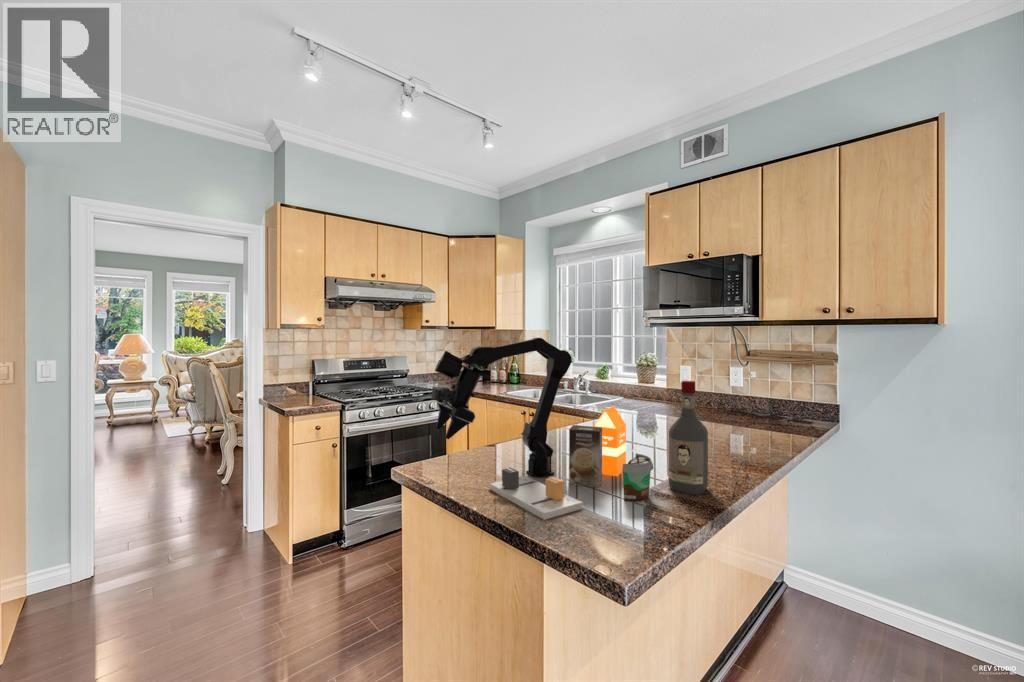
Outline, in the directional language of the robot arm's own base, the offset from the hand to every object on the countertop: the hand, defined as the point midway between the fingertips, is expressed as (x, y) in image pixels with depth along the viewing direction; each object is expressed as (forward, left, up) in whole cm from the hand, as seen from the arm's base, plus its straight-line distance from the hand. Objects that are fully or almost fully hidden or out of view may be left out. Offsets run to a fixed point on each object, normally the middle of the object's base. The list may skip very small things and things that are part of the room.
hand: (442, 433), depth 132 cm
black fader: (-11, +19, -12) cm, 26 cm away
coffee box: (-34, +24, -15) cm, 44 cm away
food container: (-38, +41, -15) cm, 58 cm away
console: (-14, +26, -14) cm, 33 cm away
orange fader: (-16, +32, -12) cm, 38 cm away
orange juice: (-48, +20, -15) cm, 54 cm away
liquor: (-54, +44, -15) cm, 72 cm away
